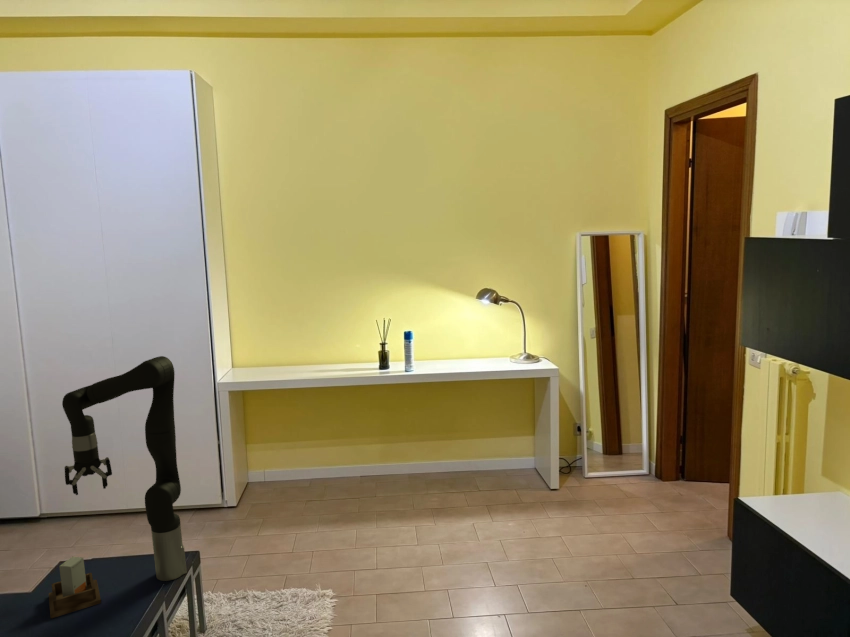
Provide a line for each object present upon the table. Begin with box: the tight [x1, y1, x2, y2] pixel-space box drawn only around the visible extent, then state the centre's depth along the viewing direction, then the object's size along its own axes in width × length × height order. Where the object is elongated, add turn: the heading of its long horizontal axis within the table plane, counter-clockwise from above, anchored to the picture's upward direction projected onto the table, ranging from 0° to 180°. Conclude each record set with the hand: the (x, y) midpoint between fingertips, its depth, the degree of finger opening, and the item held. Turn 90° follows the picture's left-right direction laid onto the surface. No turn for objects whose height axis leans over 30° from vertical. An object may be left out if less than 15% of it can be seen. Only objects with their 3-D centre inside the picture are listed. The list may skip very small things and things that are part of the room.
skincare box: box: [58, 556, 87, 597], centre depth 206 cm, size 6×4×12 cm
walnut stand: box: [48, 572, 102, 619], centre depth 206 cm, size 14×14×5 cm
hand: (90, 491), depth 222 cm, fingers open, 8 cm apart
